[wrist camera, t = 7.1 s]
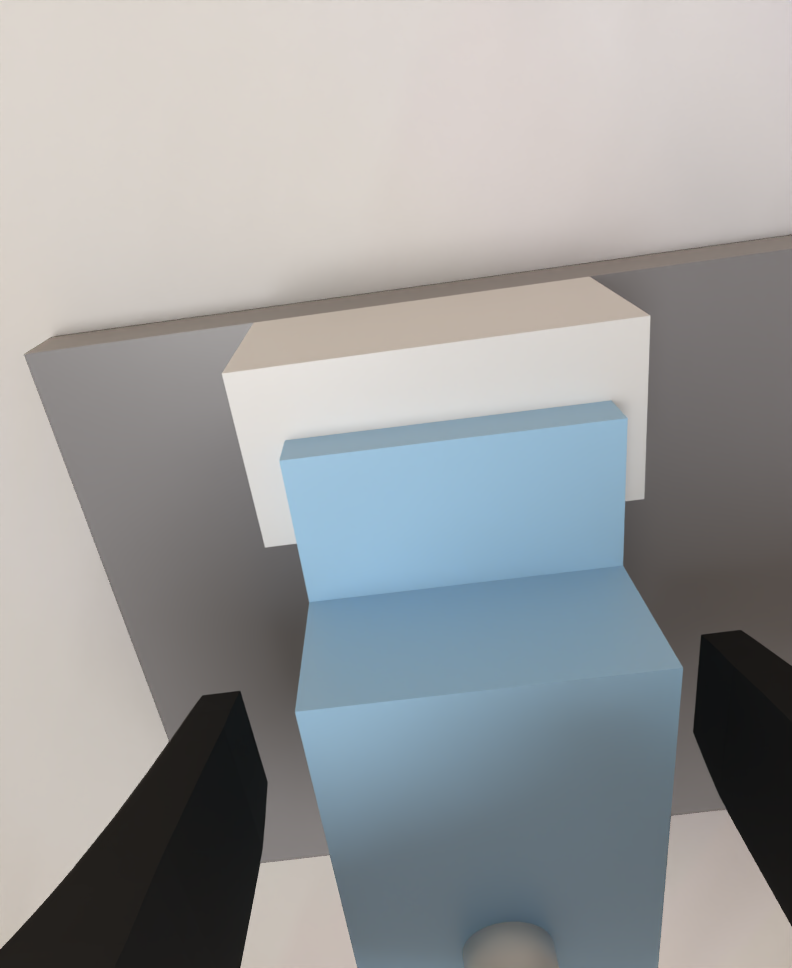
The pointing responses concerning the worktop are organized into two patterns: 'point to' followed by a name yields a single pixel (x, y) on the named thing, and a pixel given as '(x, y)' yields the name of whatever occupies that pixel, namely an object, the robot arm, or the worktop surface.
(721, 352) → the plate
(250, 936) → the worktop surface
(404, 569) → the block
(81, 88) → the worktop surface
